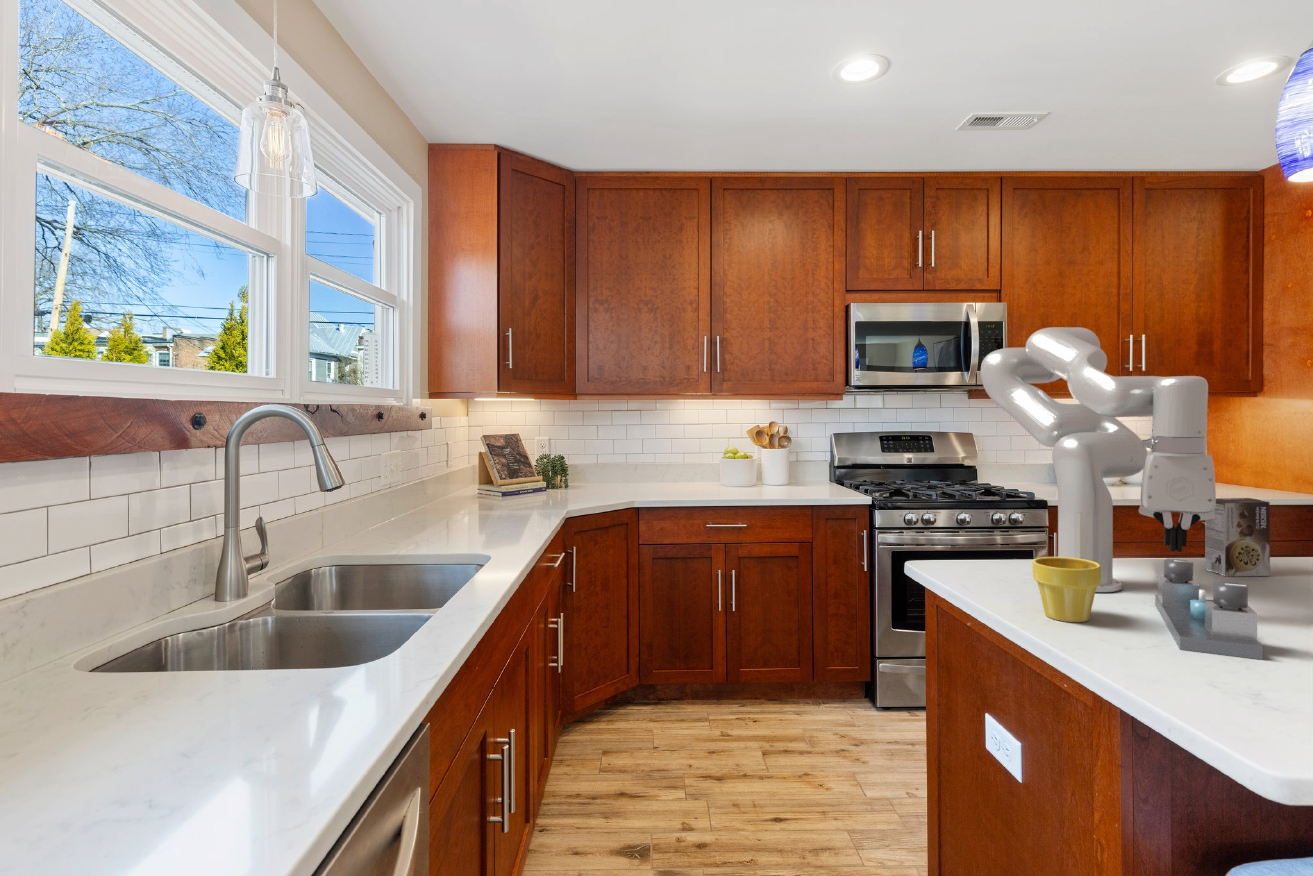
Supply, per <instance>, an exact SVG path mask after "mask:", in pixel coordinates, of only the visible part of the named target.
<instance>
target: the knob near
mask: <svg viewBox="0 0 1313 876" xmlns="http://www.w3.org/2000/svg"><path fill="white" fill-rule="evenodd" d="M1212 587H1213V588H1212V589H1213V593H1212V594H1213V596H1212V597H1213V598H1212V600H1213V603H1214V604H1216V605H1219V606H1223V609H1231V610H1238V608H1247V607H1248V605H1249V603H1248V601H1249V599H1248V598H1249V587H1248V585H1246V584H1242V583H1237V582H1229V581H1215V582H1213V586H1212Z"/></svg>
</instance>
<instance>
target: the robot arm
mask: <svg viewBox="0 0 1313 876" xmlns="http://www.w3.org/2000/svg"><path fill="white" fill-rule="evenodd" d="M980 365H981V366H980V378H981V382H982V386H983V388H984V390H985V392H986V394H987V395H988V396H989V398H990V399H991V400H992V402H994V403H995V404H996V405H997V406H999V408H1001V409H1002V410H1003V411H1004V412H1006V413H1007V414H1009V415H1010V416H1011V417H1012V418H1013V419H1014V420H1015V421H1016V423H1018V424H1019V425H1020V426H1021V428H1023V429H1024V430H1025V431H1026V432H1027V433H1028V434H1029V435H1030V436H1031V437H1032V438H1033V439H1034V440H1035V441H1037V442H1038V443H1039V444H1041V445H1042V446H1044V447H1049V448H1052V454H1051V455H1052V464H1053V465H1052V466H1053V468H1054V473H1055V478H1056V486H1057V487H1056V489H1057V557H1069V558H1078V559H1085V560H1089V561H1093V562H1096V563H1098V564H1099V565H1100V566H1101V584H1100V585H1099V586H1097V587H1096V591H1095V593H1113V592H1118V591H1121V590H1122V588H1123V583H1122V582H1121V581H1120V580H1119V579H1116V578H1113V575H1114V574H1113V570H1114V569H1113V565H1114V564H1113V563H1114V561H1113V559H1114V558H1113V557H1114V556H1113V552H1114V551H1113V549H1114V548H1113V542H1114V541H1113V538H1114V537H1113V536H1114V535H1113V534H1114V531H1113V530H1114V529H1113V528H1114V526H1113V521H1114V520H1113V515H1114V514H1113V513H1114V511H1113V509H1114V507H1113V506H1114V505H1113V499H1112V495H1111V493H1110V491H1109V488H1108V486H1107V485H1106V483H1105V482H1104V479H1115V478H1126V477H1133V476H1135V475H1138V474H1139V473H1140V472H1142V478H1141V487H1140V505H1139V508H1138V513H1139V514H1140V515H1141V516H1142V515H1143V516H1146V517H1150V518H1152V519H1153V518H1154V519H1155V520H1157V521H1158V522H1159V523H1160V524H1161V525H1162V526H1163V527H1164V530H1163V533H1164V535H1163V544H1164V546H1167V548H1168V550H1169V551H1170V552H1175V551H1176V552H1178V553H1181V552H1183V547H1184V548H1185V547H1187V541H1188V540H1187V538H1188V536H1187V535H1188V530H1189V529H1190V528H1191V527H1193V525H1194V524H1196V523H1197V522H1199V521H1200V522H1201V521H1205V520H1209V519H1214V518H1215V517H1216V516H1215V512H1214V510H1215V506H1216V499H1217V497H1216V496H1217V493H1216V492H1217V491H1216V474H1215V465H1214V460H1213V456H1212V455H1208V454H1206V453H1207V452H1206V451H1207V428H1208V426H1207V425H1208V402H1209V401H1208V400H1209V384H1208V381H1207V379H1206V378H1204V377H1202V376H1200V375H1199V376H1196V375H1183V376H1181V375H1178V376H1177V375H1176V376H1175V375H1174V376H1158V375H1157V376H1156V375H1148V376H1147V375H1144V376H1143V375H1131V376H1130V375H1128V376H1126V375H1125V376H1124V375H1123V376H1114V375H1111V374H1108V373H1106V372H1105V370H1106V368H1107V365H1108V357H1107V355H1106V353H1105V352H1104V350H1103V349H1102V348H1101V342H1100V339H1099V337H1098V336H1097V335H1096V333H1095V332H1094V331H1092V330H1090V329H1089V328H1085V327H1079V326H1078V327H1076V326H1075V327H1072V326H1071V327H1067V326H1065V327H1062V326H1061V327H1059V326H1057V327H1055V326H1052V327H1044V328H1040V329H1038V330H1036V331H1035V332H1033V333H1032V334H1031V335H1030V336H1029V337H1028V338H1027V340H1026V342H1025V347H1006V348H1000V349H997V350H996V349H995V350H994V351H991V352H990V353H988V354H987V355H986V356H985V357H984V358H983V359H982V362H981V364H980ZM1060 379H1063V380H1064V381H1066V382H1067V384H1066V385H1067V388H1068V391H1069V392H1070V393H1069V394H1071V397H1072V398H1073V399H1074V400H1075V401H1076V402H1078V403H1062V402H1058V401H1056V400H1055V399H1054V398H1052V397H1051V396H1049V394H1047V393H1046V392H1045V391H1043V390H1042V389H1040V387H1036V386H1034V385H1032V384H1048V383H1052V382H1055V381H1057V380H1060ZM1128 417H1129V418H1132V417H1133V418H1134V417H1138V418H1139V417H1140V418H1142V417H1143V418H1144V417H1145V418H1146V417H1152V423H1151V424H1152V426H1151V428H1152V429H1151V437H1149V438H1147V439H1141V437H1139V436H1138V435H1137V434H1136V433H1135V432H1134V431H1132V429H1130V428H1129V427H1128V426H1126V425H1125V424H1124V423H1123V422H1121V421H1120V420H1119V419H1117V418H1128ZM1148 448H1149V449H1150V451H1151V452H1150V453H1148V450H1147V449H1148ZM1172 513H1180V515H1179V519H1178V522H1177V524H1176V525H1175V524H1174V523H1173V519H1172V518H1173V517H1172Z"/></svg>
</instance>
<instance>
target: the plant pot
mask: <svg viewBox="0 0 1313 876" xmlns="http://www.w3.org/2000/svg"><path fill="white" fill-rule="evenodd" d="M1032 578H1033V579H1034V581H1035V582H1037V583H1036V584H1037V586H1038V591H1039V594H1040V598H1041V599H1040V600H1041V601H1042V602H1041V603H1042V606H1043V607H1042V608H1043V611H1044V615H1045V616H1046V617H1047V618H1049V619H1052V620H1054V619H1055V620H1056V621H1059V620H1060V622H1066V623H1084V622H1085V623H1086V622H1088V621H1089V619H1090V617H1091V612H1092V608H1093V603H1094V599H1095V595H1096V592H1095V591H1096V587H1097V586H1099V585H1100V584H1101V566H1100V565H1099V564H1098V563H1096V562H1093V561H1089V560H1085V559H1078V558H1069V557H1058V556H1044V557H1036V558H1034V559H1032Z"/></svg>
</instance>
